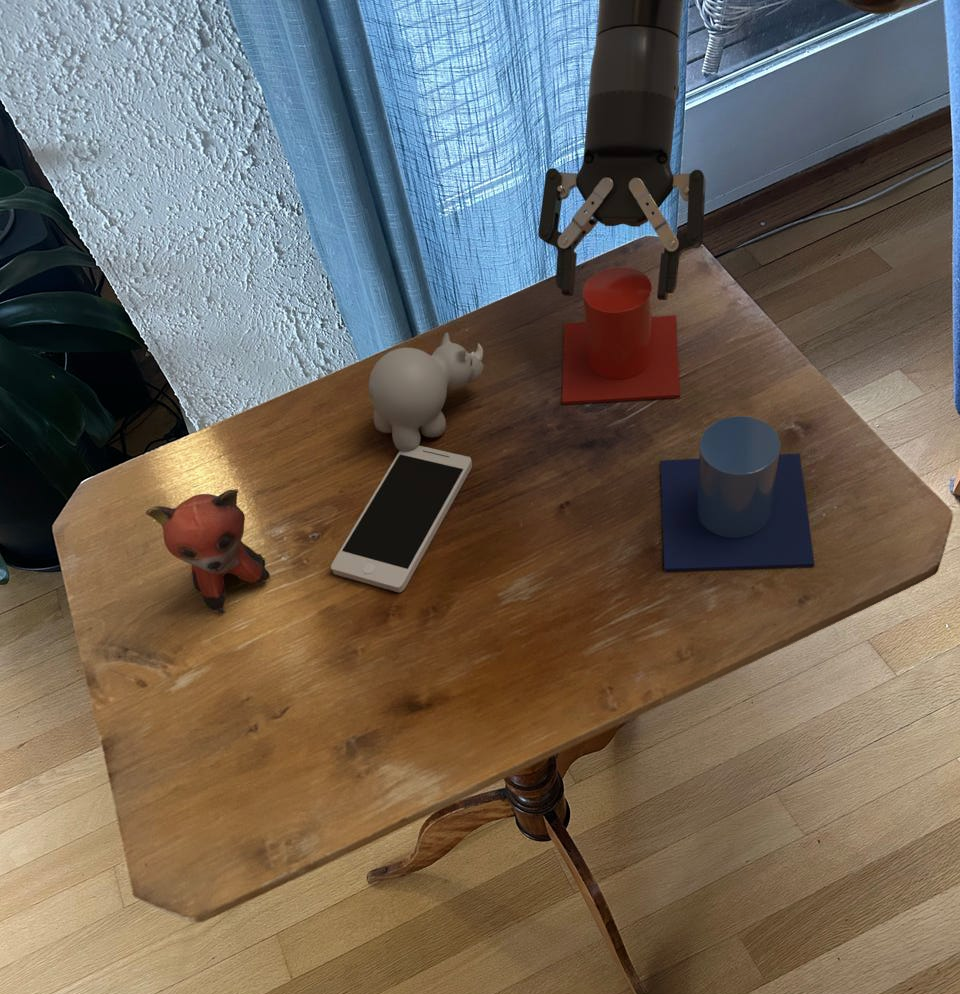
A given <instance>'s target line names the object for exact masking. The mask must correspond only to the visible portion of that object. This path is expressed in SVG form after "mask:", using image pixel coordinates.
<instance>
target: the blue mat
mask: <svg viewBox="0 0 960 994" xmlns="http://www.w3.org/2000/svg"><path fill="white" fill-rule="evenodd" d="M801 459H802V458H801V454H800V453H784V454H783V453H782V454H779V461H778V468H777V476H776V483H775V490H774V497H773V504H772V511H771V516H770V519H769V521H768V522H767V524H766V525H765V526H764V527H763V528H762V529H761V530H759V531H758V532H756V533H754V534H752V535H749V536H746V537H741V538H728V537H723V536H719V535H717V534H714V533H712V532H711V531H709V530H708V529H707V528H705V527H704V526H703V524H702V523H701V522H700V520H699V518H698V515H697V491H698V469H699V458H687V459H686V458H685V459H684V458H683V459H666V460H660V487H661V490H660V491H661V514H662V515H661V519H662V521H661V522H662V540H663V541H662V545H663V547H662V548H663V571H664V572H687V571H690V572H691V571H692V572H693V571H719V570H721V571H722V570H724V571H725V570H749V569H750V570H753V569H782V568H783V569H784V568H809V567H810V568H811V567H812V568H813V567H815V559H814V550H813V542H812V536H811V528H810V520H809V511H808V504H807V498H806V491H805V483H804V474H803V467H802V460H801Z"/></svg>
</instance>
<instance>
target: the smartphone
mask: <svg viewBox="0 0 960 994" xmlns="http://www.w3.org/2000/svg"><path fill="white" fill-rule="evenodd" d="M472 468H473V462H472V458H471V456H468V455H467V456H466V455H464V454H463V455H462V454H459V453H453V452H450V451H445V450H440V449H436V448H431V447H427V446H423V445H420V444H419V445H418V447H417V448H415V449H413V450H410V451H400V450H398V453H397V454H396V456H395V458H394V459H393V461H392V462H391V464H390V466H389V467H388V469H387V471H386V472H385V474H384V476H383V478H382V479H381V481H380V482H379V484H378V486H377V487H376V489H375V491H374V492H373V494H372V496H371V497H370V499H369V501H368V503H367V504H366V505H365V507H364V509H363V510H362V512H361V514H360V515H359V517H358V519H357V520H356V523H354V526H353V527H352V529H351V530H350V532H349V534H348V536H347V537H346V539H345V540H344V542H343V544H342V546H341V547H340V549H339V550H338V552H337V553H336V555H335V557H334V559H333V561H332V562H331V564H330V569H331V572H332V574H333V575H335V576H338V577H339V576H340V577H342V578H347V579H350V580H353V581H357V582H360V583H364V584H368V585H371V586H374V587H378V588H382V589H384V590H389V591H392V592H395V593H402V592H403V591H404V590H405V589H406V587H407V586H408V584H409V582H410V581H411V578H412V577H413V575H414V573H415V571H416V569H417V568H418V566H419V564H420V563H421V560H422V558H423V557H424V555H425V553H426V551H427V550H428V548H429V546H430V544H431V542H432V540H433V539H434V537H435V535H436V533H437V532H438V529H440V526H441V525H442V522H443V520H444V519H445V517H446V515H447V514H448V511H449V510H450V508H451V506H452V504H453V503H454V501H455V499H456V497H457V495H458V494H459V492H460V490H461V488H462V487H463V484H464V483H465V481H466V479H467V478H468V475H469V474H470V472H471V470H472Z"/></svg>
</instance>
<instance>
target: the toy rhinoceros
mask: <svg viewBox="0 0 960 994" xmlns="http://www.w3.org/2000/svg"><path fill="white" fill-rule="evenodd" d="M483 358H484V349H483V347H482V346H481V344H480V343H479V342H477V349H476V350H475V351H471V352H469V351H467V350H466V349H465V348H464V347H463V346H462V345H460V344H459V343H455V342H452V341H451V339H450V334H449V332H447V331H446V332H444V335H443V336H442V340H441V345H440V346H438V347H437V348H435V350H434V352H433V353H432V354H431V355H430V354H429V353H427V352H426V351H424V350H421V349H419V348H415V347H400V348H396V349H393V350H391V351H389V352H387V353H385V354H384V355H383V356H381V357H380V358H379V359H378V361H377V362H376V363H375V365H374V366H373V368H372V370H371V373H370V375H369V379H368V396H369V399H370V402H371V405H372V406H373V408H374V412H373V424H374V428H375V429H376V430H377V431H379V432H380V433H384V434H391V436H392V442H393V445H394V446H395V448H396V449H397V450H398V451H410V450H413V449H415V448H417V447H418V445H419V446H420V443H421V438H422V437H421V435H422V436H423V437H426V438H438V437H440V436H442V435H443V434H444V433H445V431H446V428H447V422H446V421H447V420H446V418H445V415H444V413H443V412H442V409H443V407H444V405H445V402H446V399H447V393H448V390H453V391H454V390H458V389H461V388H463V387H465V386H466V385H467V384H471V383H475V382H477V381H478V380H479V379H480V378H481V376H482V374H483V371H484V363H483V361H482V360H483Z"/></svg>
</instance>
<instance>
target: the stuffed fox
mask: <svg viewBox="0 0 960 994" xmlns="http://www.w3.org/2000/svg"><path fill="white" fill-rule="evenodd" d="M238 493H239V489H238V488H235V489H227V490H225V491H224V492H222V493H220V494H219V495H215V494H211V493H200V494H196V495H195V494H194V495H192V496H190V497H189V498H187V499H186V500H184V501H182V502H181V503H180V504H178V505H177V506H176V507H173V508H171V507H168V506H160V505H158V506H156V505H155V506H152V507H150V508H149V509H147V510H146V511H145V514H146V515H147V516H148V517H151V518H152V519H153V520H155V521H156V522H157V523H158V524H160V525H161V527H162V528H161V529H162V535H163V541H164V545H165V547H166V549H167V551H168V552H169V553H170V554H171V555H172V556H173V557H175V558H176V559H178V560H179V561H182V562H185V563H187V564H189V565H191V574H192V581H193V582H192V583H193V587H194V589H195V590H196V591H197V592H198V593H200V594H201V597H202V600H203V603H204V604H205V606H206V607H207V608H208V609H209V610H211V611H212V612H216V613H218V614H221V615H223V614H225V613H226V609H224V607H225V602H226V599H227V590H226V589H225V581H224V579H225V578H224V577H225V575H226V574H232V575H235V576H237V578H239V580H241V581H247V582H249V583H250V584H251V585H253V586H258V585H260V584H261V583H263V582H266V581H267V580H268V581H270V580H271V578H270V577H271V575H270V573H269V571H268V570H267V569H266V558H264V557H263V555H262V554H261V553H257V552H256V551H254V550H253V549H252V548H251V547H250V546H248V545H247V544H245V543H244V542H243V541H242V539H243V536H244V533H245V530H244V529H245V519H246V516H245V513H244V511H243V510H242V509H241V508H240V507H239V506H238V505H237V504H238Z"/></svg>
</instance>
